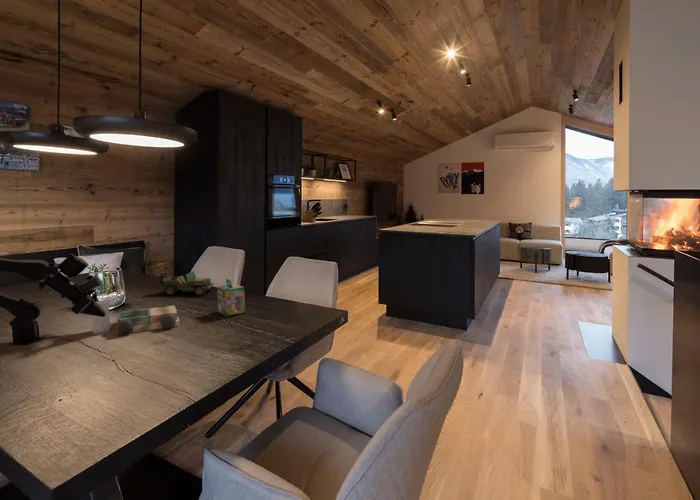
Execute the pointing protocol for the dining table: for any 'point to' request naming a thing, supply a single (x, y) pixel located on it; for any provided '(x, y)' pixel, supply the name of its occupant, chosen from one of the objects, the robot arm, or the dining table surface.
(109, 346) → the dining table surface
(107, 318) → the block
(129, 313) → the chassis
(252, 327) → the dining table surface
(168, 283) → the toy jeep
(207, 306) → the dining table surface
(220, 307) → the chalk box
